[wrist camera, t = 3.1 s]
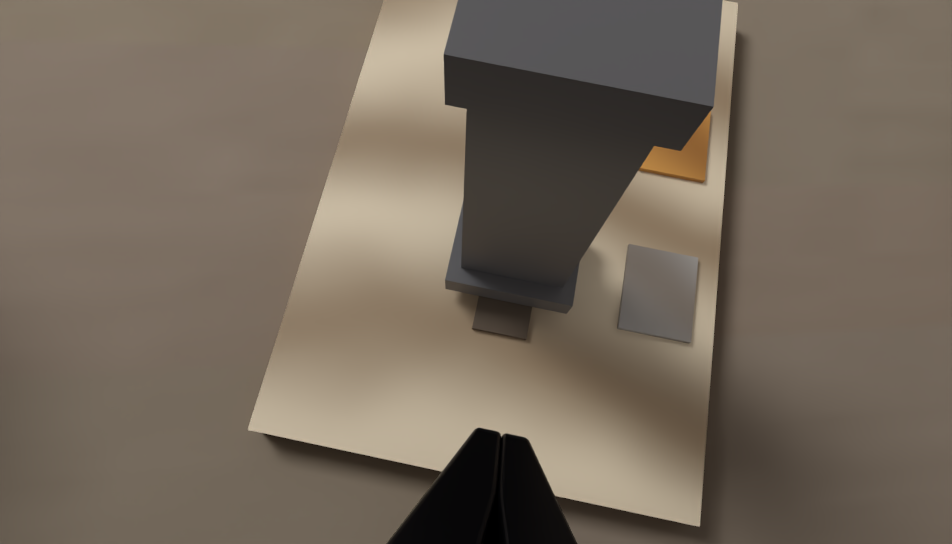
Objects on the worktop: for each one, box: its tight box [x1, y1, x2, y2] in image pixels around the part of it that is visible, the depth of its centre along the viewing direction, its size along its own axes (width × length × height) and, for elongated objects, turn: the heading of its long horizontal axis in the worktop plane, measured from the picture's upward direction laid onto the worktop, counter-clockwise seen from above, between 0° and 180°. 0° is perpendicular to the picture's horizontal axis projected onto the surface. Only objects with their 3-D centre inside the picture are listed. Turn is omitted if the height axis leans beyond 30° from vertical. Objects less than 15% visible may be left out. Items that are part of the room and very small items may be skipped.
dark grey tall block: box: [444, 0, 723, 314], centre depth 14 cm, size 3×4×11 cm
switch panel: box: [248, 0, 738, 527], centre depth 20 cm, size 20×14×4 cm
